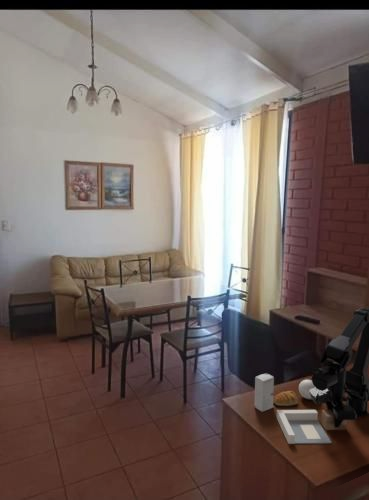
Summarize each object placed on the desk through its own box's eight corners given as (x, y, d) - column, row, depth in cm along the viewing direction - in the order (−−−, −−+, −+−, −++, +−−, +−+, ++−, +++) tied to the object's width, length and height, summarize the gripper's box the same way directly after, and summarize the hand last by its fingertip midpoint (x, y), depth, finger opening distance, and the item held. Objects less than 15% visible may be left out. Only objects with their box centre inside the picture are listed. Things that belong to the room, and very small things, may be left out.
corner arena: (315, 417, 128) (315, 409, 128) (331, 443, 114) (332, 434, 114) (276, 417, 128) (276, 410, 127) (288, 443, 114) (288, 435, 114)
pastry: (279, 409, 133) (279, 400, 133) (268, 400, 140) (269, 391, 139) (299, 404, 137) (299, 395, 136) (288, 395, 143) (288, 387, 143)
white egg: (313, 405, 136) (314, 387, 135) (295, 398, 141) (296, 381, 140) (323, 394, 143) (324, 377, 142) (305, 388, 148) (306, 372, 147)
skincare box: (262, 412, 131) (263, 381, 130) (253, 406, 135) (254, 376, 133) (273, 407, 135) (274, 377, 133) (265, 401, 138) (266, 372, 137)
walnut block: (340, 422, 125) (341, 409, 125) (346, 429, 121) (347, 416, 121) (321, 422, 125) (321, 409, 124) (325, 430, 121) (326, 416, 120)
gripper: (303, 368, 130) (301, 408, 132) (323, 395, 112) (321, 441, 114) (333, 368, 130) (331, 407, 132) (358, 395, 112) (355, 440, 114)
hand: (333, 423), depth 123 cm, fingers open, 4 cm apart
